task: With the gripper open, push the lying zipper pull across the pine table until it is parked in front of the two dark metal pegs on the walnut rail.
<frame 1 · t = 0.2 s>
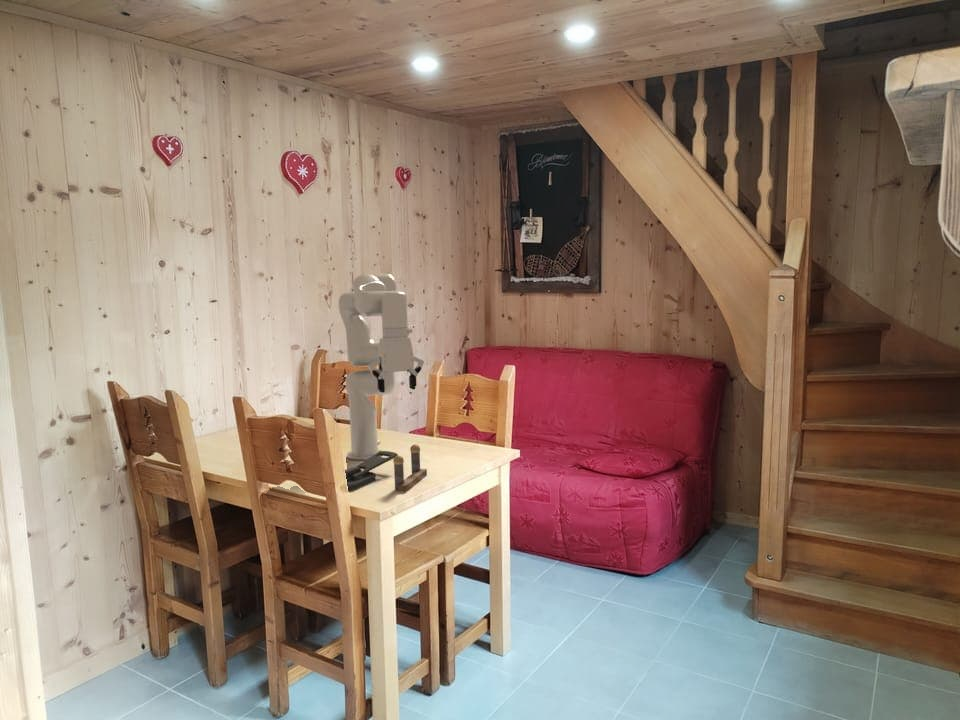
hand: (397, 390, 200), 31 cm above the table, tool pointing down, fingers open, 9 cm apart
peg stop rail: (408, 482, 211), on the table
zipper pull: (365, 480, 215), on the table
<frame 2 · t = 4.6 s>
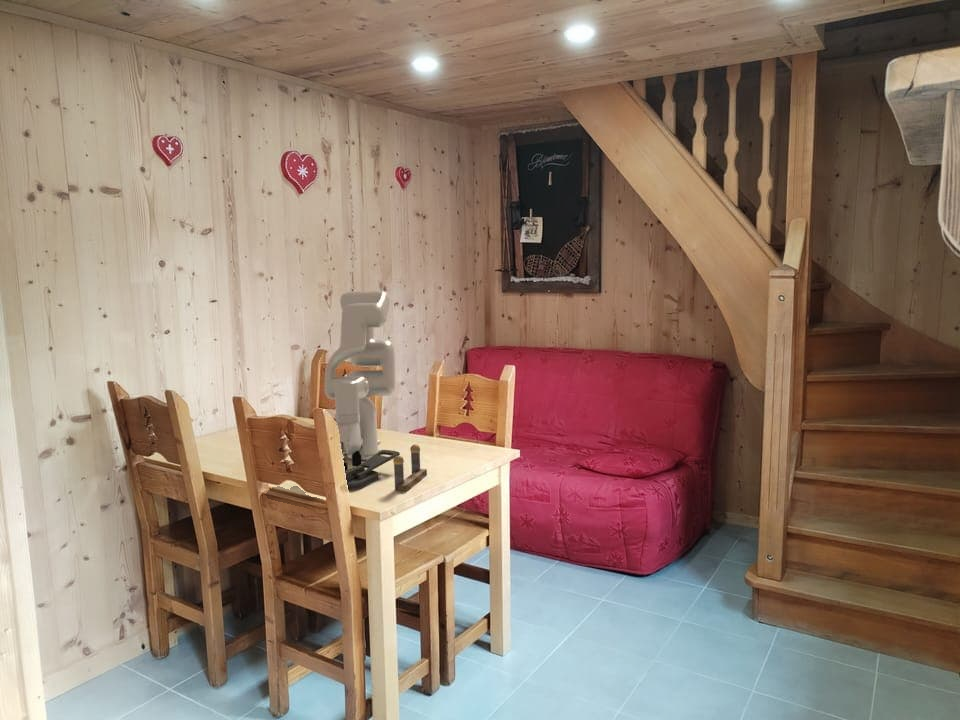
hand: (350, 470, 216), 3 cm above the table, tool pointing down, fingers open, 9 cm apart
zipper pull: (369, 479, 216), on the table, touching gripper
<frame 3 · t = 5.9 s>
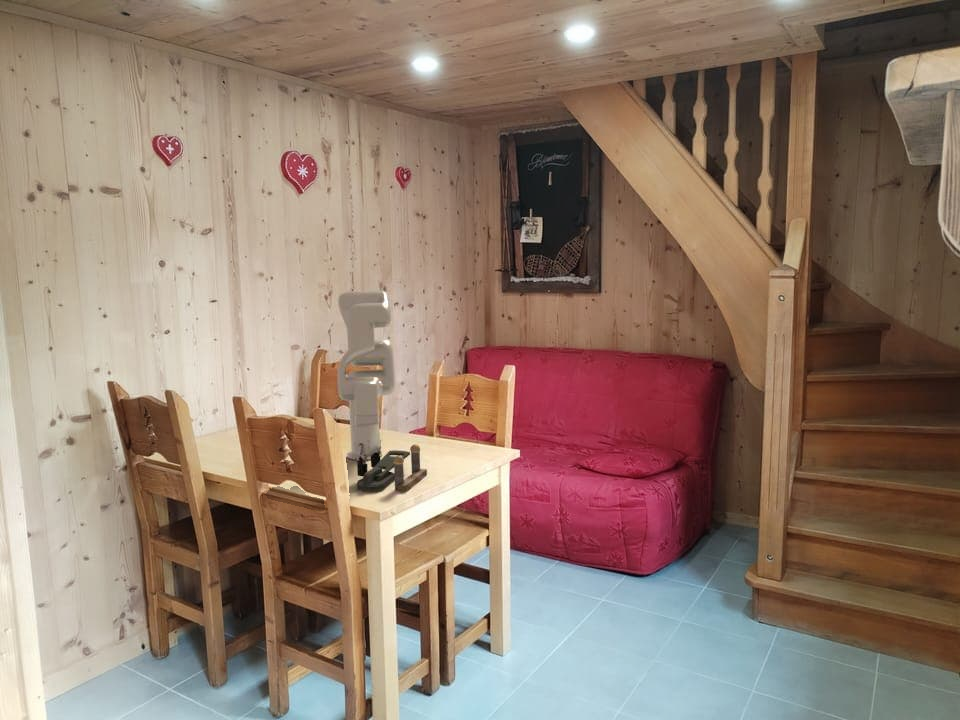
hand: (369, 471, 214), 3 cm above the table, tool pointing down, fingers open, 9 cm apart
zipper pull: (384, 480, 214), on the table, touching gripper
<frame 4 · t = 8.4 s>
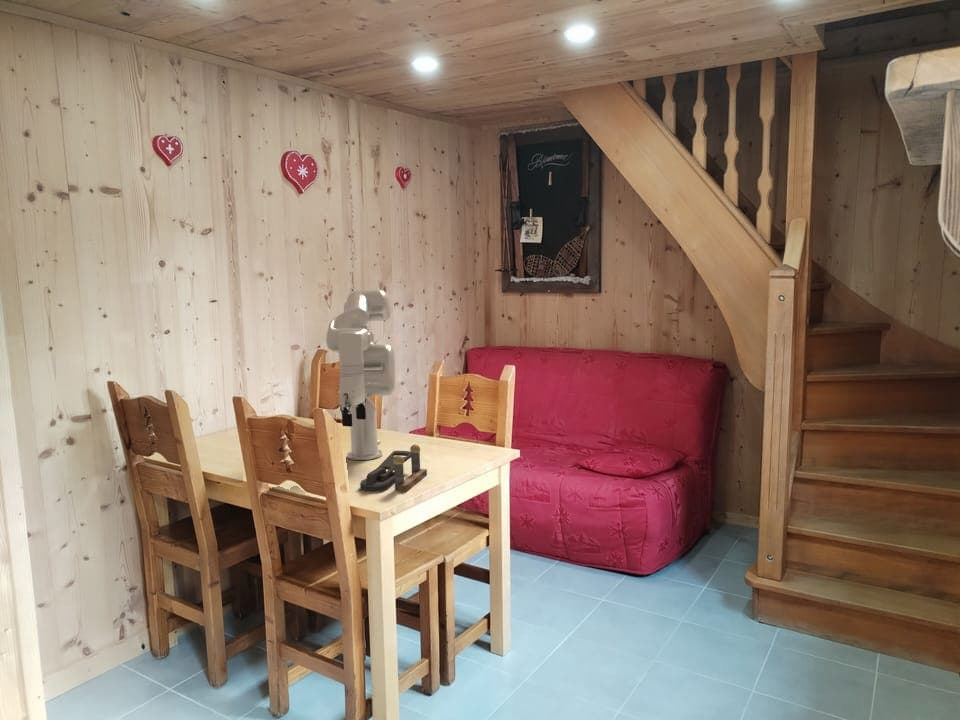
hand: (354, 422, 214), 19 cm above the table, tool pointing down, fingers open, 9 cm apart
zipper pull: (388, 480, 214), on the table
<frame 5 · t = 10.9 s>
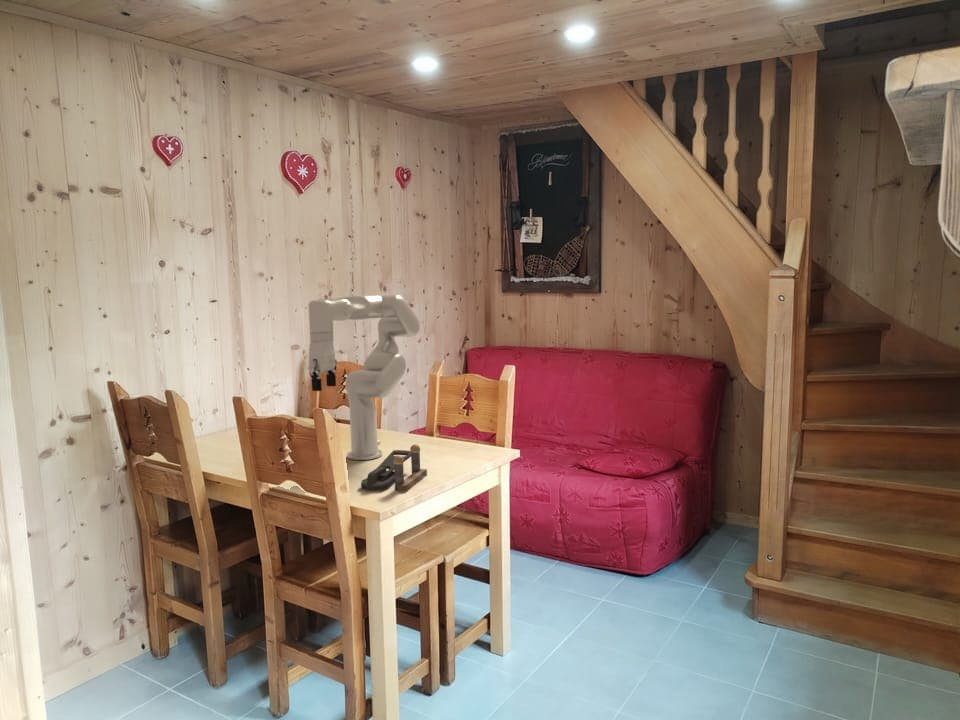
hand: (324, 388, 223), 28 cm above the table, tool pointing down, fingers open, 9 cm apart
nothing on the table moved.
at the end: zipper pull inside the target area (2.4 cm from its centre), on the table; zipper pull moved 7.5 cm from its start; zipper pull 8.1 cm from the peg stop rail (horizontally) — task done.
